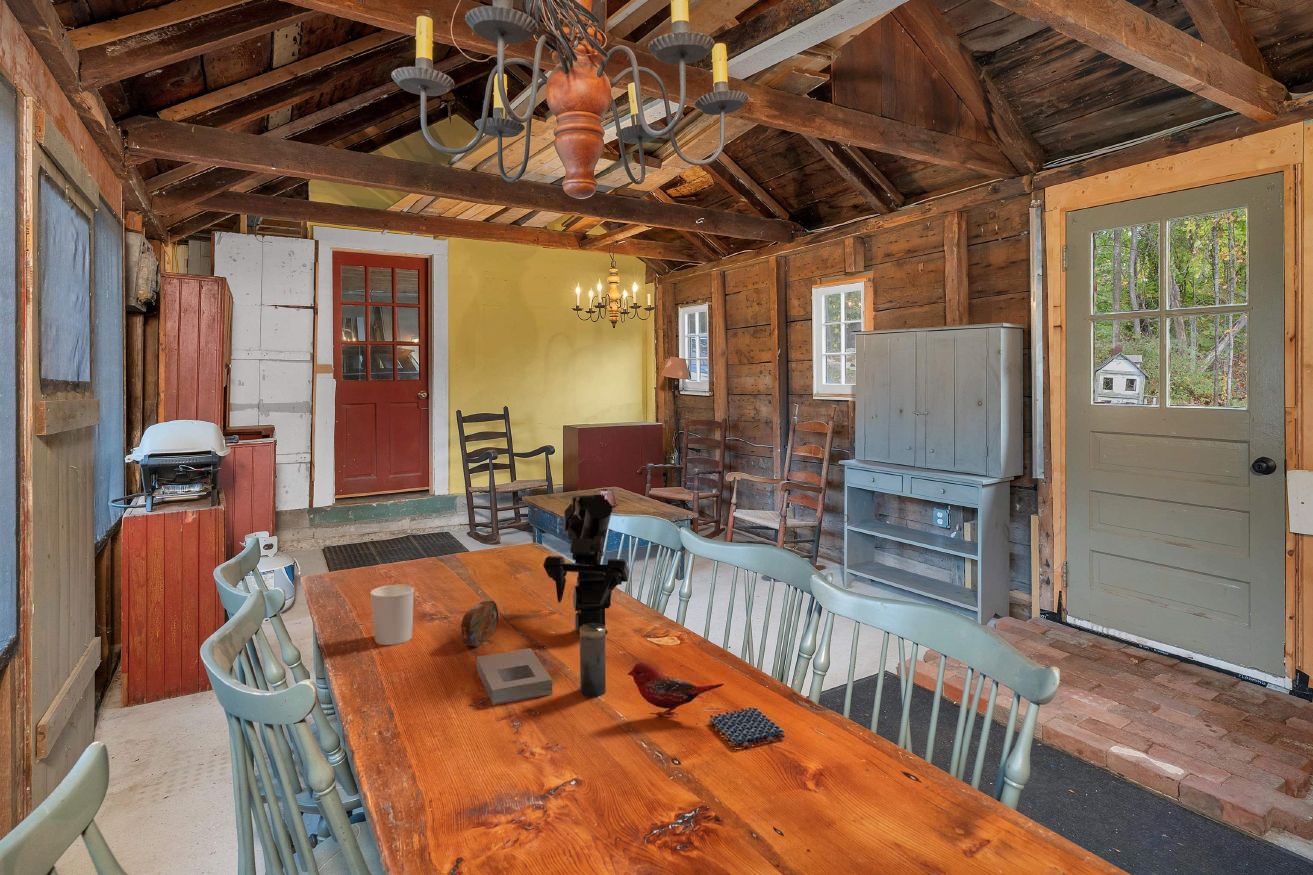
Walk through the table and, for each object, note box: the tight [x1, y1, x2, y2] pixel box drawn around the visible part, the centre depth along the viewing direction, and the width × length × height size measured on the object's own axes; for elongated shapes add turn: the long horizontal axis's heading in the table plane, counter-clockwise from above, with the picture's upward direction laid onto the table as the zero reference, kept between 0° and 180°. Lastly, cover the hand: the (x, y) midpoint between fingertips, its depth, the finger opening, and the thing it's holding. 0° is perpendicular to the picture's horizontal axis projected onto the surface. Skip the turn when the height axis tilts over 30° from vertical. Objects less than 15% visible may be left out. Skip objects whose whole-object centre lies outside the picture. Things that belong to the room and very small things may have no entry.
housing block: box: [476, 647, 554, 706], centre depth 139 cm, size 12×18×3 cm, turn 24°
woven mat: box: [708, 706, 787, 749], centre depth 119 cm, size 10×11×2 cm
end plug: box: [579, 623, 607, 698], centre depth 135 cm, size 5×5×13 cm
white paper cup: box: [369, 584, 415, 646], centre depth 163 cm, size 10×10×12 cm
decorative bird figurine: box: [627, 662, 725, 717], centre depth 124 cm, size 3×18×10 cm, turn 88°
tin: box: [460, 600, 499, 647], centre depth 163 cm, size 15×3×8 cm, turn 168°
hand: (579, 603), depth 148 cm, fingers open, 9 cm apart
